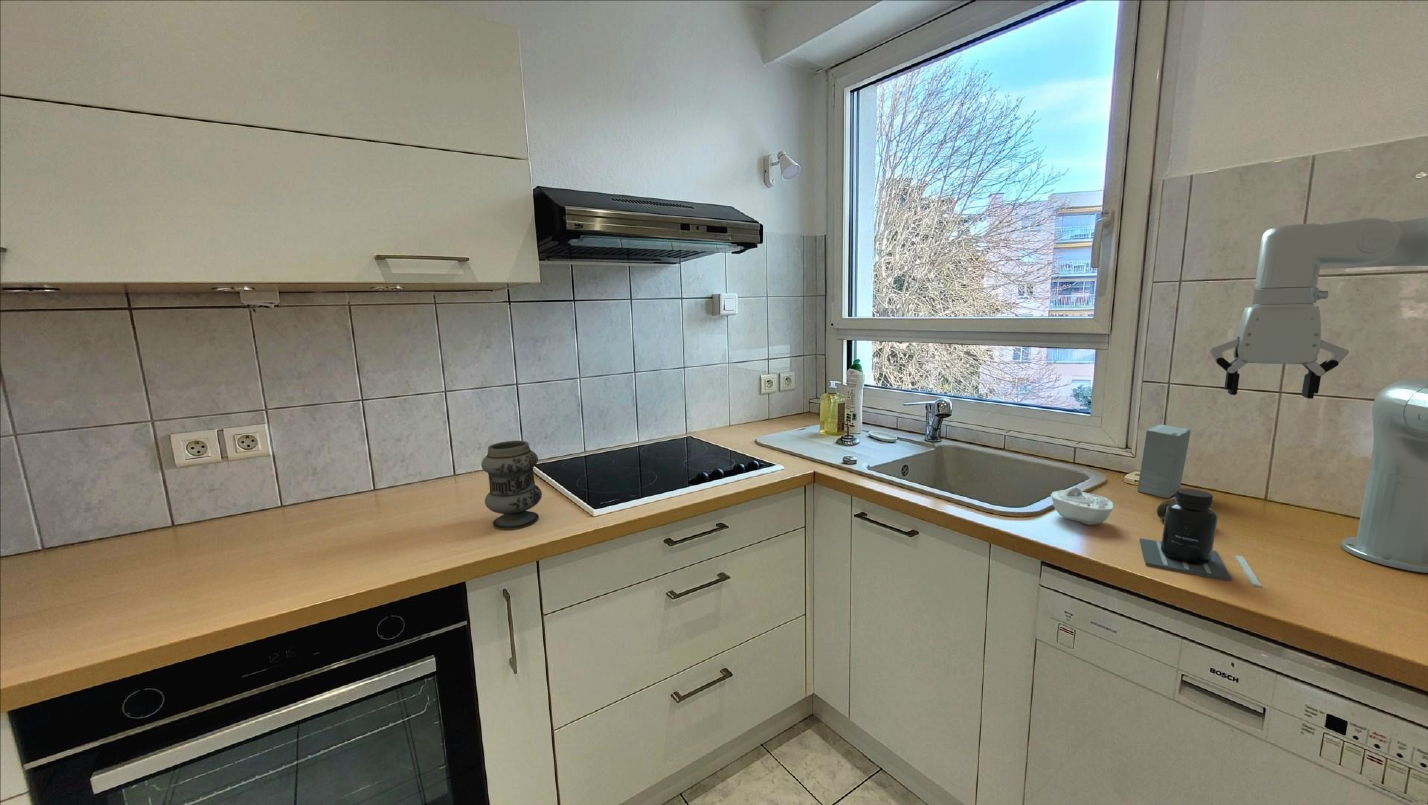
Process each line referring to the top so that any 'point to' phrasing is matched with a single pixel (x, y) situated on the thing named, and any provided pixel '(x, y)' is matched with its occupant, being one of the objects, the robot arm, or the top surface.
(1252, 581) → the strip
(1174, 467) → the skincare box
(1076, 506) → the cell model
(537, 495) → the apothecary jar
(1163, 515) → the mushroom
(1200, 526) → the supplement bottle
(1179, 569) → the mat
